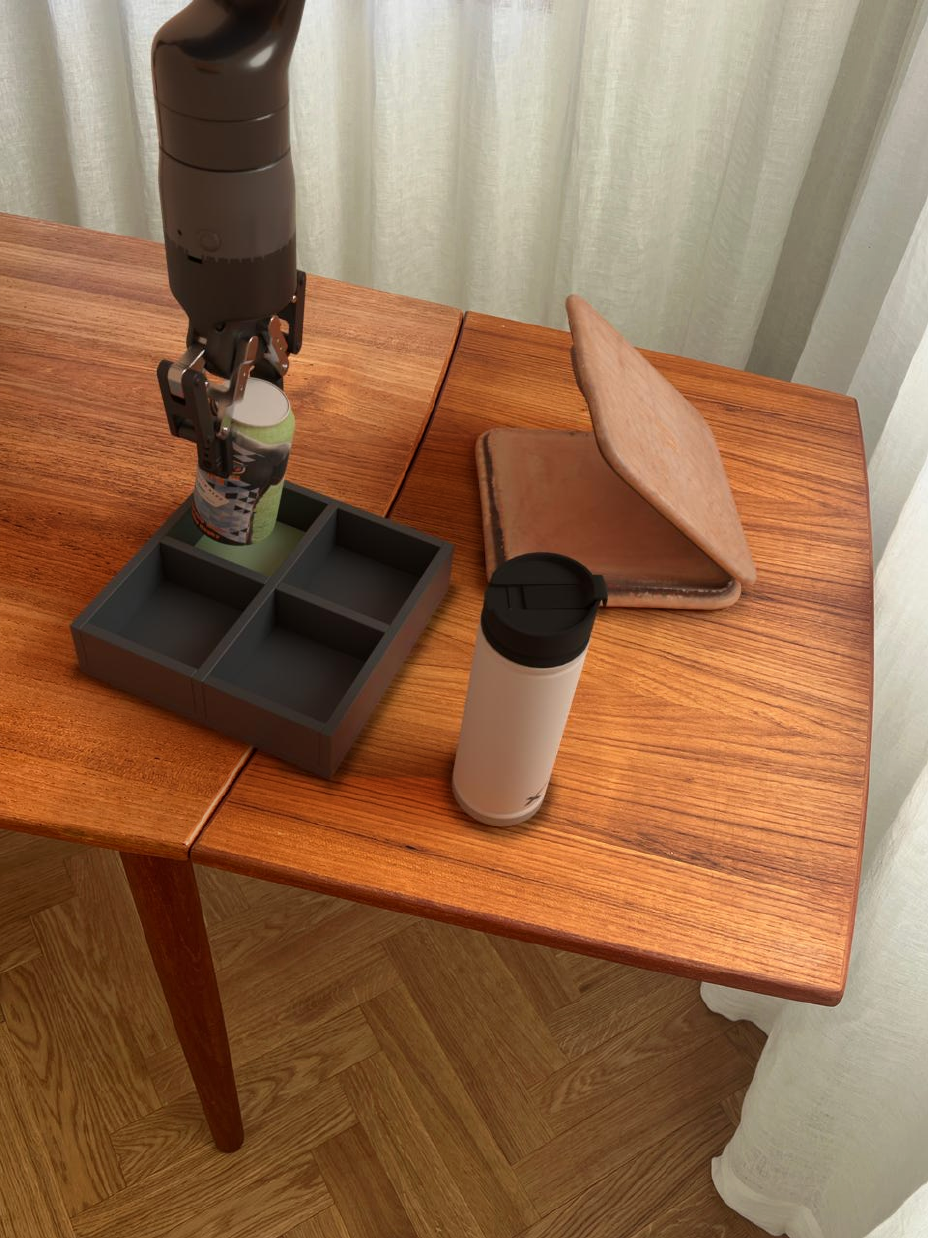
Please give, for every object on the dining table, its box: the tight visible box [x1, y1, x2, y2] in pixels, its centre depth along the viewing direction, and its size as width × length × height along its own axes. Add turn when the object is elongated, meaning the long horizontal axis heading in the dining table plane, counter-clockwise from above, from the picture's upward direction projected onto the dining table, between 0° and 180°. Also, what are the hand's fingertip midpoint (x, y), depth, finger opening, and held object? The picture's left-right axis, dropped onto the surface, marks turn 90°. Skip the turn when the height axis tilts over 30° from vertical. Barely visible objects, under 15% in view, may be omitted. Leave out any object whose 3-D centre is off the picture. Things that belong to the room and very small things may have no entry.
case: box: [474, 293, 757, 611], centre depth 86 cm, size 20×21×16 cm
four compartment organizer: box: [69, 479, 456, 781], centre depth 79 cm, size 19×19×5 cm
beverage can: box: [191, 376, 296, 546], centre depth 77 cm, size 6×7×12 cm
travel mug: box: [451, 552, 608, 828], centre depth 67 cm, size 6×7×20 cm
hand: (243, 443), depth 76 cm, fingers closed on beverage can, 6 cm apart
